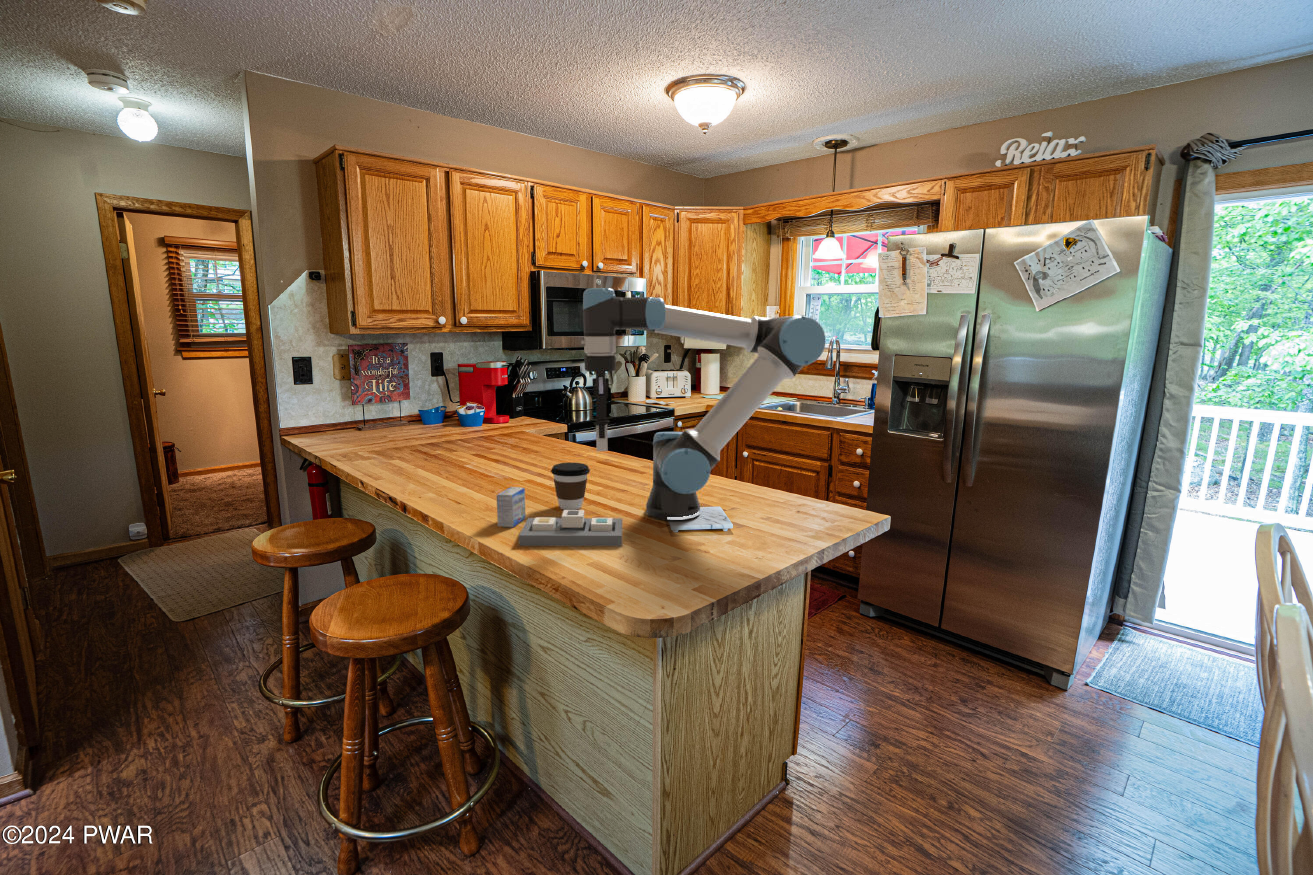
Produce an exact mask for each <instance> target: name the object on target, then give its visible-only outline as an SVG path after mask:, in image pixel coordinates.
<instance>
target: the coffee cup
mask: <svg viewBox="0 0 1313 875" xmlns="http://www.w3.org/2000/svg"><path fill="white" fill-rule="evenodd" d="M590 471H591V470H590V467H589V466H588V465H587V464H585V463H581V462H560V463H557V464H554V465H553V466H552V467H551V469H550V473H551V474H552V475H553V482H554V490H555V495H556V498H557V503H558V506H559V508H560V509H561V510H563V511H564V510H581V508H582V507H583V505H584V498H585V495H586V494H585V493H586V490H587V482H588V474H590Z"/></svg>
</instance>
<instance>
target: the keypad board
mask: <svg viewBox="0 0 1313 875" xmlns="http://www.w3.org/2000/svg"><path fill="white" fill-rule="evenodd" d="M535 518H536V517H528V518H527V519H526V521H525V523H524V524H523V527H522V529H521V531H520V533H519V535H518V546H519V547H622V546H623V518H621V517H620V518H619V517H617V518H616V517H615V518H613V517H611V518H612V531H591V521H592V518H593V517H584V524H583V528H577V527H562V517H555V518H556V530H555V531H532V524H533V522H534V520H535Z"/></svg>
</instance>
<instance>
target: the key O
mask: <svg viewBox="0 0 1313 875" xmlns="http://www.w3.org/2000/svg"><path fill="white" fill-rule="evenodd" d="M591 518H592V521H591V531H612V518H613V517H591Z"/></svg>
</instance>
